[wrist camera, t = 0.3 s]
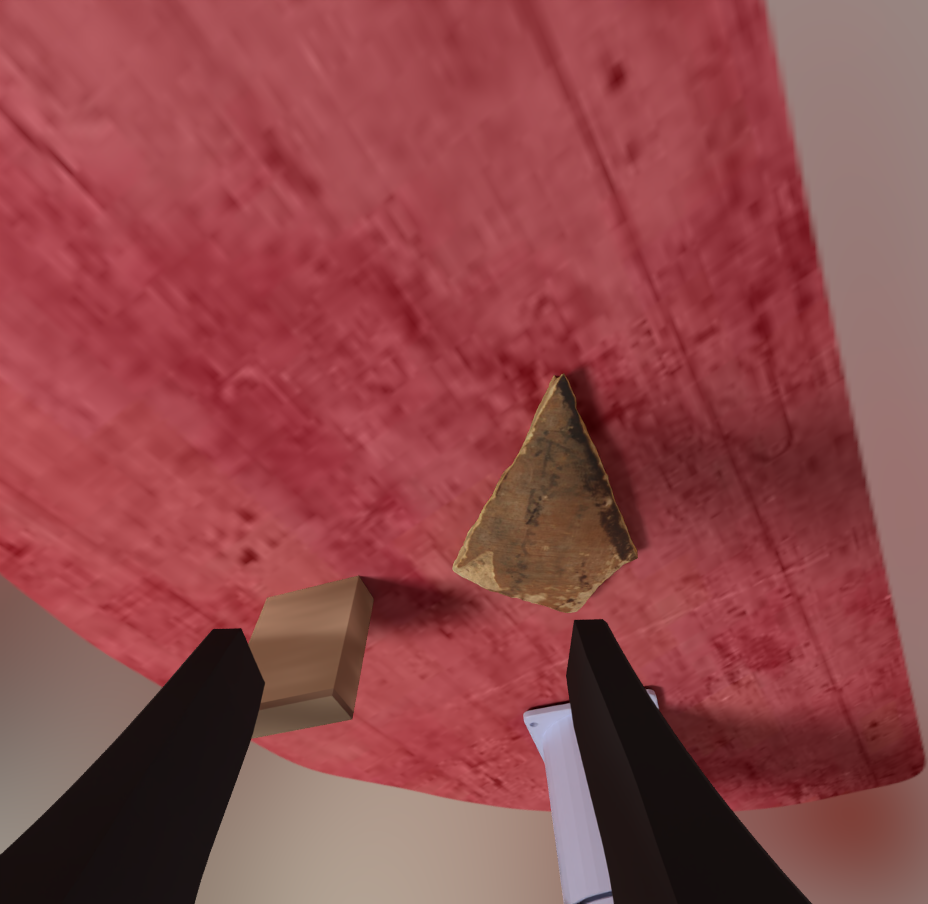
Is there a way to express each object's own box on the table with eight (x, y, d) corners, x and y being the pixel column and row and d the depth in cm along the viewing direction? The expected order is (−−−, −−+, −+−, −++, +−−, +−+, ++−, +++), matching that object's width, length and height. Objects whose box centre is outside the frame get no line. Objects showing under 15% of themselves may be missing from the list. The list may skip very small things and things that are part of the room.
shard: (555, 356, 18) (564, 377, 17) (721, 425, 20) (743, 450, 18) (445, 552, 24) (445, 581, 22) (583, 593, 25) (591, 622, 24)
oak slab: (374, 598, 25) (352, 719, 20) (285, 619, 25) (242, 740, 20) (358, 575, 24) (331, 695, 19) (267, 597, 24) (218, 718, 19)
